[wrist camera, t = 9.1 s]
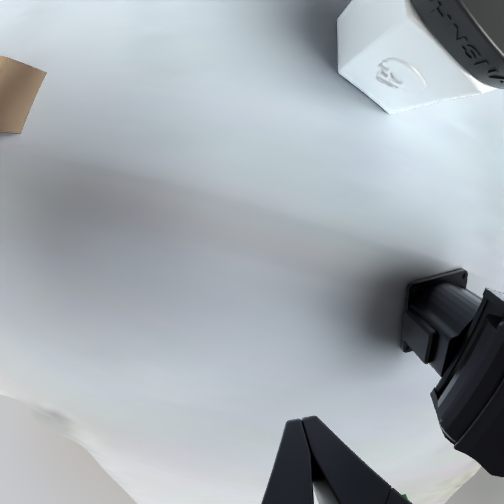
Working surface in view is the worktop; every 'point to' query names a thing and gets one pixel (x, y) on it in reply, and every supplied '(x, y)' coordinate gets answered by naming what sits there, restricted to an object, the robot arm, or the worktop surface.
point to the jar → (421, 50)
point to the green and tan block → (17, 93)
